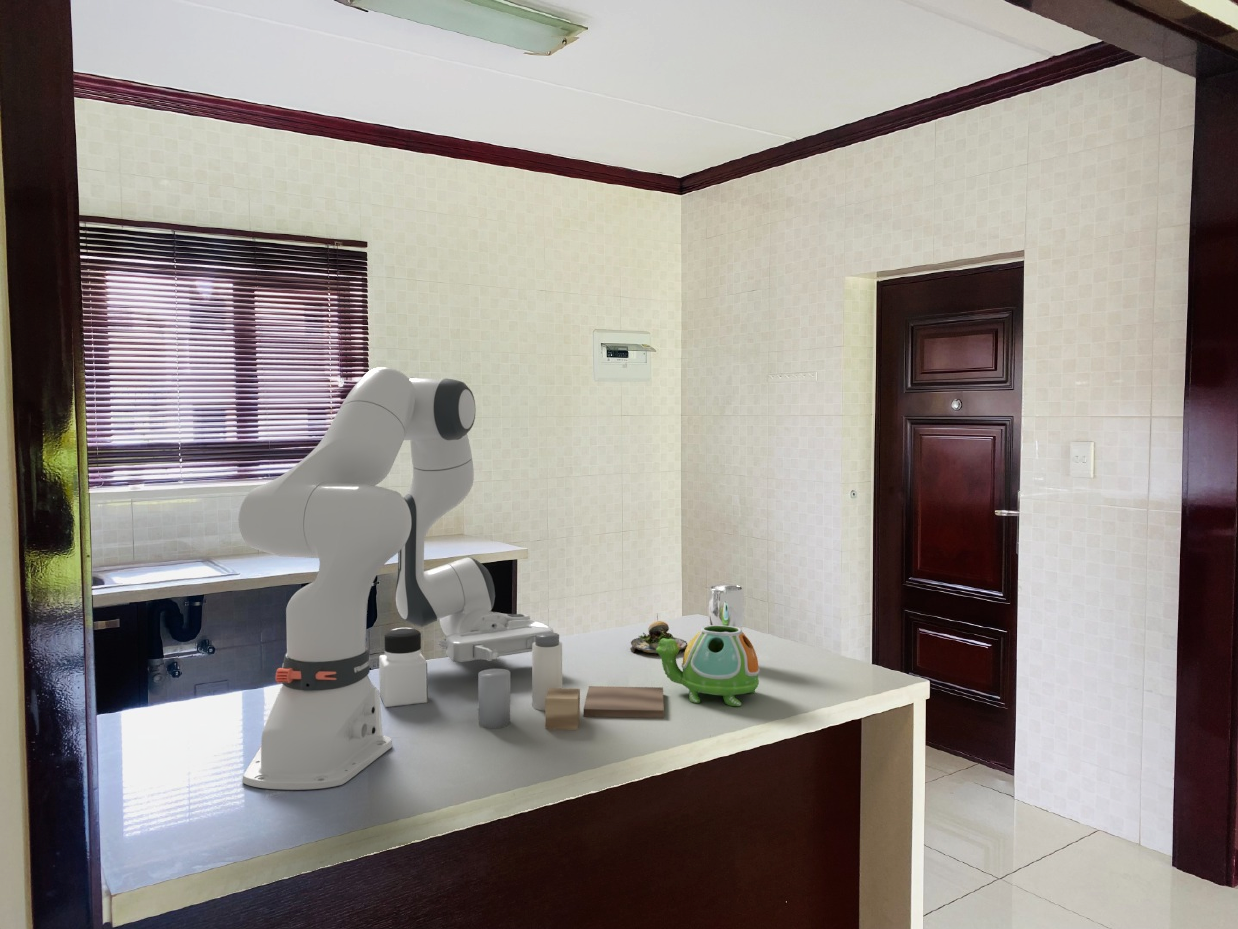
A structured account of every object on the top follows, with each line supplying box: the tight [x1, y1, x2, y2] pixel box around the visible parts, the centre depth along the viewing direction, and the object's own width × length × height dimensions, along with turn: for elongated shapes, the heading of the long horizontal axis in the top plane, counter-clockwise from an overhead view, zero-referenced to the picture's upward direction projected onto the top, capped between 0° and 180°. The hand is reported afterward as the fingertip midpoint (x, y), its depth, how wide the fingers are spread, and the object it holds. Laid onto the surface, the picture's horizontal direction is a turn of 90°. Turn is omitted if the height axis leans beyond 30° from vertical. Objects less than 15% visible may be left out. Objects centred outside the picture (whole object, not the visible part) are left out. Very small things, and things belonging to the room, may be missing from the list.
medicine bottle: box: [378, 627, 428, 708], centre depth 155 cm, size 7×7×12 cm
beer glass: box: [708, 583, 745, 633], centre depth 178 cm, size 7×7×15 cm
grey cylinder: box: [477, 668, 511, 729], centre depth 144 cm, size 5×5×8 cm
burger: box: [630, 614, 688, 654], centre depth 187 cm, size 12×12×8 cm
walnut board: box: [582, 685, 665, 719], centre depth 153 cm, size 12×13×1 cm
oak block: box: [544, 687, 581, 731], centre depth 144 cm, size 5×5×5 cm
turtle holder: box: [656, 624, 761, 707], centre depth 158 cm, size 12×18×12 cm
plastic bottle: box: [531, 632, 563, 711], centre depth 152 cm, size 5×5×12 cm
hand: (518, 652), depth 161 cm, fingers open, 8 cm apart
